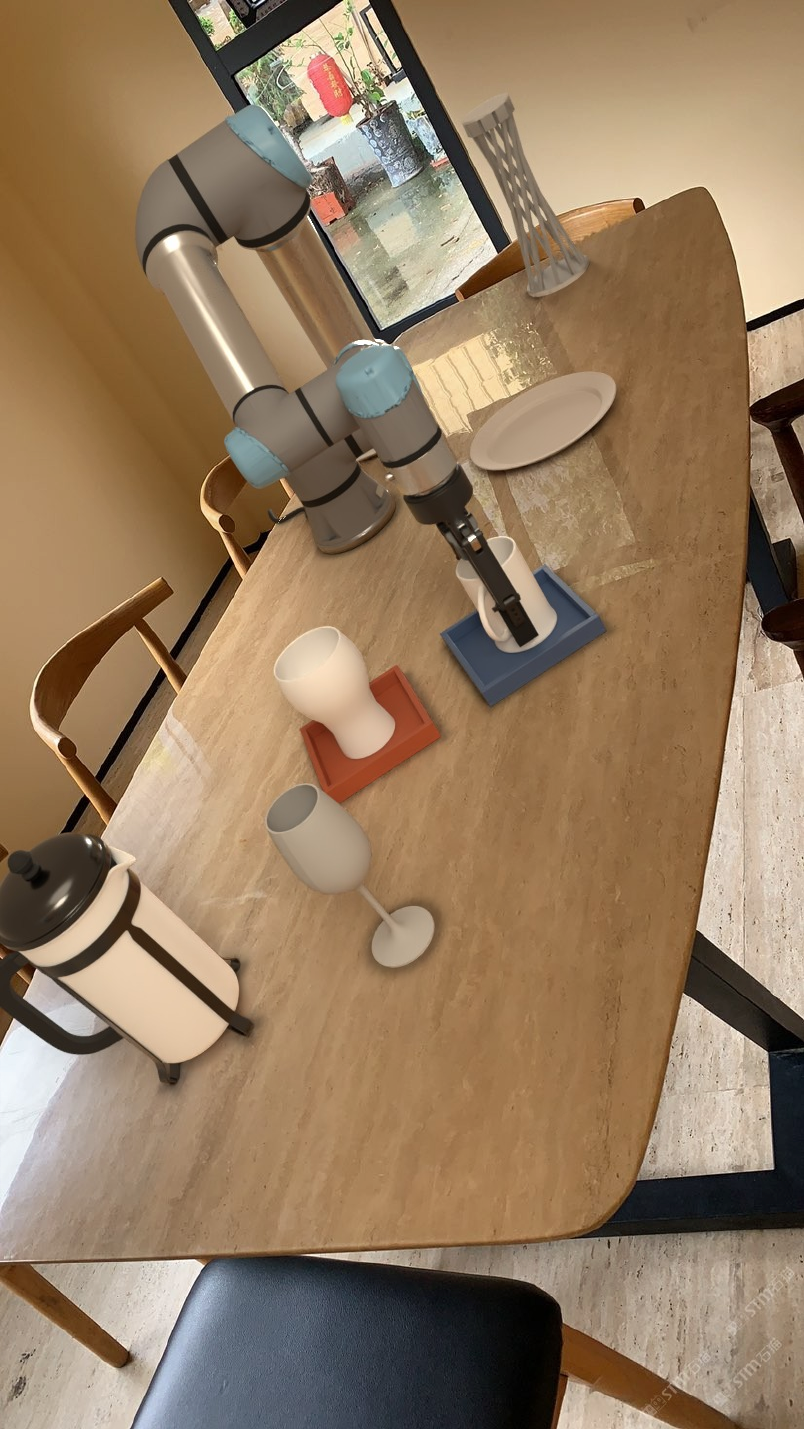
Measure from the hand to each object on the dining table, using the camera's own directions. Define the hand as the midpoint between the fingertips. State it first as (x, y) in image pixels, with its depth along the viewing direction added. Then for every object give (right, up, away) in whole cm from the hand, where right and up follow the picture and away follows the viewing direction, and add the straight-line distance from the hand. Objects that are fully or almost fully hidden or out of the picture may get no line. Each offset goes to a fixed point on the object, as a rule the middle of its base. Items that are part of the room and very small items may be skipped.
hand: (513, 622), depth 130 cm
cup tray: (-18, -15, +3) cm, 23 cm away
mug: (+1, -2, +1) cm, 3 cm away
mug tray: (+1, -2, +2) cm, 3 cm away
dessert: (-17, +41, +69) cm, 82 cm away
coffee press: (-36, -45, -19) cm, 61 cm away
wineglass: (-14, -34, -24) cm, 44 cm away
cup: (-18, -14, +3) cm, 23 cm away
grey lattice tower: (+18, +78, +84) cm, 116 cm away
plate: (+10, +35, +39) cm, 53 cm away
